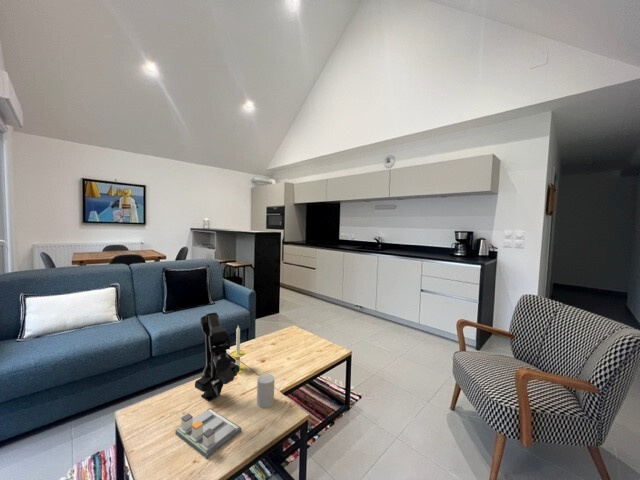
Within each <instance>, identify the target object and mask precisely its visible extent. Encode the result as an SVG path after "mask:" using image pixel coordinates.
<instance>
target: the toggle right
mask: <svg viewBox="0 0 640 480" xmlns="http://www.w3.org/2000/svg"><path fill="white" fill-rule="evenodd" d="M213 442H215V431H213V430H212V429H211V428H209V429H208V430H206V431H205V432H204V433H203V444H204V445H206V446H207V447H208V446H210V445H211V444H212V443H213Z"/></svg>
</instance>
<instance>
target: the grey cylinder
mask: <svg viewBox="0 0 640 480" xmlns="http://www.w3.org/2000/svg"><path fill="white" fill-rule="evenodd" d="M256 380H257V381H256V383H257V384H256V405H257V407H259V408H262V409H267V408H271V406H273V405H274V404H275V403H274V402H275V375H274V374H271V373H263V374H260V375H258V376H257V379H256Z"/></svg>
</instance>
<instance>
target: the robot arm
mask: <svg viewBox="0 0 640 480" xmlns="http://www.w3.org/2000/svg"><path fill="white" fill-rule="evenodd" d="M219 316H220V315H219V314H218V313H217V312H210V313H206V314H205V315H204V316H202V317H200V320H199V326H200V328H201V331H202V332H203V334H204V338H205V366H204V368H203V370H202V375H201V377H200V378H199V379H197V380H196V381H195V382H194V388H195V389H196V390H199V391H200V392H203V394H201V395H200V397H201V398H203V399H204V400H206V401H208V402H210V401H211V400H213V399H215V398H217V397H219V396H220V395H221V392H222V389H223V388H224V385H227V384H228V385H229V383H230V382H233V381H234V380H235V377H236V376H238V374H237V373H238V372H239V366H238V365H236V363H235V362H231V359H230V357H229V355H228V353H227V350H231V345H232V342H231V338H230V334H229V332H227V330H226V328H224V327H223V326H221V323H220V318H219Z"/></svg>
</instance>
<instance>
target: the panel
mask: <svg viewBox="0 0 640 480" xmlns="http://www.w3.org/2000/svg"><path fill="white" fill-rule="evenodd" d="M197 421H200V422H202V423H203V433H204V432H205V431H206V430H208V429H209V428H211V429H212V430H213V431H215V442H213V443H212V444H211V445H210V446H208V447H207V446H206V445H204V444H203V434H202V435H200V436H199V437H197V438H195V437H194V436H192V426H191V427H190V428H188V429H187V430H185V429H183V428H182V427H181V426H180V427H178V428H177V429H175V435H176V436H178V437H179V438H180V439H181V440H183V441H184V442H185V443H187V445H189V446H190V447H191V448H193V449H194V450H195V451H197V452H198V453H199V454H201V455H202V456H203V457H204V458H205V459H209V458H210V457H211V456H212V455H214V454H215V453H216V452H217V451H219V450H220V449H221V448H222V447H224V446H225V445H226V444H227V443H228V442H230V441H231V440H232V439H233V438H235V437H236V436H238V435H239V433H241V432H242V427H241V426H240V425H238V424H237V423H235V422H233V421H232V420H230V419H228V418H227V417H225V416H224V415H222V414H220V413H218V412H217V411H216V410H214V409H213V408H210V407H209V408H208V409H206V410H205V411H203V412H202V413H200V414H198V415H197V416H195V417H193V424H194V423H195V422H197Z"/></svg>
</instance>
